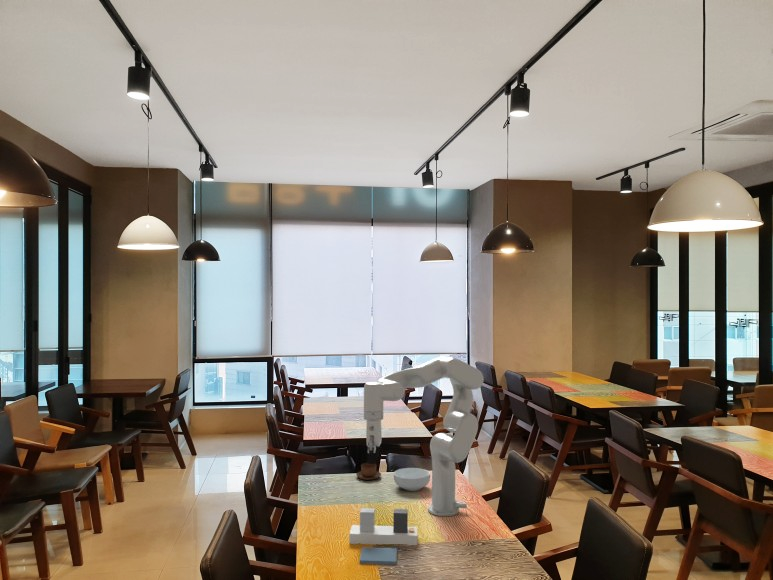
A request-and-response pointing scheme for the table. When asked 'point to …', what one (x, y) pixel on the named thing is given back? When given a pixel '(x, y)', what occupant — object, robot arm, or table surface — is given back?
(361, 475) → the cup and saucer
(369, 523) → the block
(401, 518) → the block
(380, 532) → the power strip
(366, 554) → the mat
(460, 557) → the table surface
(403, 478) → the cereal bowl
